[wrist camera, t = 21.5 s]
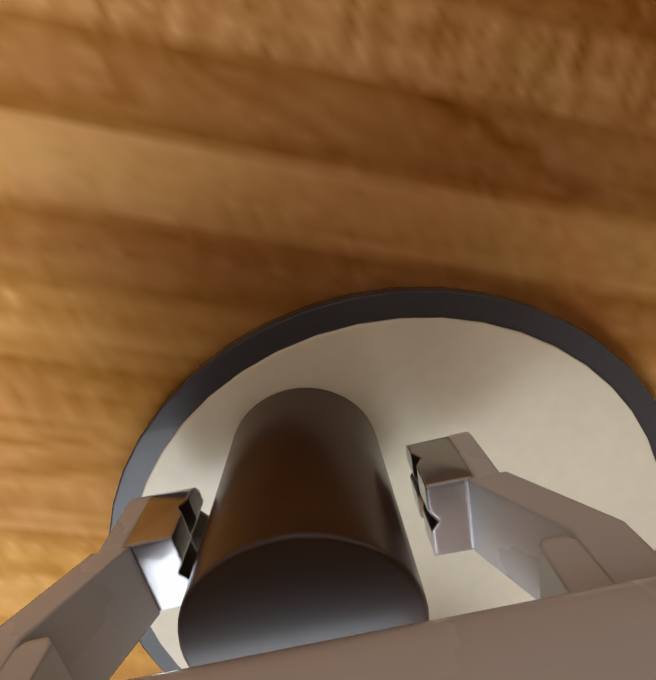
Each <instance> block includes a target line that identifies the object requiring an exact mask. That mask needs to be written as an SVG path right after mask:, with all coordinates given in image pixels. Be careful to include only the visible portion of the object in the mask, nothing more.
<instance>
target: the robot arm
mask: <svg viewBox="0 0 656 680" xmlns="http://www.w3.org/2000/svg"><path fill="white" fill-rule="evenodd" d="M406 454H407V460H408V463H409V466H410V468H411V471H412V473H411V475H410V479H411V485H412V490H413V494H414V499H415V502H416V505H417V508H418V511H419V514H420V517H422V518H424V522H425V528H426V533H427V535H428V538H429V541H430V543H431V546H432V548H433V551H434V554H435V556H437V555H443V554H449V553H455V552H461V551H467V550H473V549H475V552H476V553H478V554H479V555H480V556H482V557H483V558H484V559H485V560H487V561H488V562H489V563H490V564H492V565H493V566H494V567H495V568H497V569H498V570H499V571H501V572H502V573H503V574H504V575H506V576H507V577H508V578H509V579H511V580H512V581H513V582H515V583H516V584H517V585H518V586H520V587H521V588H522V589H523V590H525V591H526V592H527V593H529V594H530V595H531V596H532V597H534V598H535V599H536V600H531V601H526V602H521V603H516V604H511V605H506V606H501V607H496V608H491V609H486V610H481V611H476V612H471V613H465V614H460V615H455V616H450V617H445V618H440V619H435V620H429V621H424V622H419V623H414V624H409V625H404V626H398V627H393V628H388V629H383V630H378V631H373V632H367V633H362V634H357V635H352V636H347V637H342V638H337V639H332V640H326V641H321V642H316V643H311V644H306V645H301V646H296V647H291V648H286V649H281V650H276V651H271V652H266V653H260V654H255V655H250V656H245V657H240V658H235V659H230V660H225V661H220V662H215V663H210V664H205V665H199V666H194V667H189V668H184V669H179V670H174V671H169V672H164V673H159V674H154V675H149V676H143V677H138V678H133V679H128V680H656V552H655V551H654V550H653V549H652V548H651V547H650V546H649V545H648V544H647V543H646V542H645V541H644V540H643V539H642V538H641V537H640V536H639V535H638V534H637V533H636V532H635V531H634V530H633V529H632V528H631V527H630V526H629V525H628V524H627V523H626V522H625V521H622V520H620V519H618V518H615V517H613V516H611V515H608V514H606V513H603V512H601V511H599V510H596V509H594V508H592V507H589V506H587V505H585V504H582V503H580V502H577V501H575V500H573V499H570V498H568V497H566V496H563V495H561V494H559V493H556V492H554V491H551V490H549V489H547V488H544V487H542V486H540V485H537V484H535V483H533V482H530V481H528V480H526V479H523V478H521V477H518V476H516V475H514V474H511V473H509V472H507V471H505V472H499V471H498V469H497V468H496V467H495V465H494V464H493V463H492V461H491V460H490V459H489V457H488V456H487V455H486V453H485V452H484V451H483V449H482V448H481V447H480V445H479V444H478V443H477V441H476V440H475V439H474V437H473V436H472V435H471V433H469V432H467V431H466V432H462V433H458V434H453V435H449V436H447V437H442V438H438V439H433V440H428V441H424V442H419V443H415V444H410V445H406ZM203 502H204V501H203V498H202V496H201V493H200V491H199V490H198V489H197V488H195V487H194V488H188V489H183V490H177V491H172V492H166V493H160V494H155V495H150V496H145V497H140V498H135V499H133V500H131V501H130V502H129V503H128V505H127V507H126V508H125V510H124V512H123V513H122V515H121V517H120V518H119V520H118V521H117V523H116V525H115V526H114V528H113V530H112V531H111V533H110V535H109V536H108V538H107V540H106V541H105V543H104V544H103V546H102V548H101V549H100V551H99V553H95V554H91V555H90V556H89V557H87V558H86V559H85V560H84V561H82V562H81V563H80V564H78V565H77V566H76V567H75V568H73V569H72V570H71V571H70V572H68V573H67V574H66V575H65V576H63V577H62V578H61V579H59V580H58V581H57V582H56V583H54V584H53V585H52V586H51V587H49V588H48V589H47V590H45V591H44V592H43V593H42V594H40V595H39V596H38V597H37V598H35V599H34V600H33V601H31V602H30V603H29V604H28V605H26V606H25V607H24V608H23V609H21V610H20V611H19V612H18V613H16V614H15V615H14V616H12V617H11V618H10V619H9V620H7V621H6V622H5V623H4V624H2V625H1V626H0V680H109V679H110V677H111V676H112V675H113V674H114V672H115V671H116V670H117V668H118V667H119V666H120V665H121V663H122V662H123V661H124V659H125V658H126V657H127V656H128V654H129V653H130V652H131V650H132V649H133V648H134V647H135V645H136V644H137V643H138V642H139V640H140V639H141V638H142V636H143V635H144V634H145V633H146V631H147V630H148V629H149V627H150V626H151V625H152V624H153V622H154V621H155V620H156V618H157V617H158V616H159V615H160V611H164V610H169V609H173V608H177V607H181V603H182V600H183V597H184V594H185V591H186V587H187V584H188V581H189V578H190V575H191V572H192V568H193V565H194V562H195V559H196V556H197V553H198V549H199V546H200V543H201V540H202V537H203V534H204V530H205V527H206V524H207V521H208V518H209V515H207V514H206V513H204V512H203V511H201V507H202V505H203Z"/></svg>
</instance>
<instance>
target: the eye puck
mask: <svg viewBox="0 0 656 680" xmlns="http://www.w3.org/2000/svg"><path fill="white" fill-rule="evenodd" d="M424 621H429V607H428V603H427V599H426V595H425V592H424V588H423V585H422V582H421V579H420V575H419V572H418V569H417V566H416V563H415V559H414V556H413V553H412V550H411V546H410V543H409V540H408V537H407V534H406V530H405V527H404V524H403V521H402V517H401V514H400V511H399V508H398V505H397V501H396V498H395V495H394V492H393V488H392V485H391V482H390V479H389V475H388V472H387V469H386V466H385V463H384V459H383V456H382V453H381V450H380V446H379V443H378V440H377V437H376V434H375V431H374V428H373V426H372V424H371V422H370V421H369V419H368V417H367V416H366V415H365V414H364V412H363V411H362V410H361V409H360V408H359V407H358V406H357V405H355V404H354V403H353V402H351V401H350V400H348V399H347V398H345V397H343V396H341V395H339V394H336V393H334V392H331V391H327V390H323V389H318V388H295V389H289V390H285V391H281V392H278V393H276V394H274V395H271V396H269V397H267V398H265V399H264V400H262V401H261V402H259V403H258V404H256V405H255V406H254V407H253V408H252V409H251V410H250V411H249V412H248V413H247V414H246V415H245V416H244V418H243V419H242V421H241V422H240V424H239V426H238V428H237V430H236V433H235V435H234V438H233V441H232V445H231V448H230V451H229V454H228V457H227V460H226V464H225V467H224V470H223V473H222V476H221V480H220V483H219V486H218V489H217V492H216V495H215V499H214V502H213V505H212V508H211V511H210V514H209V518H208V521H207V524H206V527H205V530H204V534H203V537H202V540H201V543H200V546H199V549H198V553H197V556H196V559H195V562H194V565H193V568H192V572H191V575H190V578H189V581H188V584H187V587H186V591H185V594H184V597H183V600H182V603H181V607H180V611H179V616H178V638H179V644H180V649H181V651H182V654H183V657H184V659H185V661H186V663H187V665H188V666H189V667H194V666H199V665H205V664H210V663H215V662H220V661H225V660H230V659H235V658H240V657H245V656H250V655H255V654H260V653H266V652H271V651H276V650H281V649H286V648H291V647H296V646H301V645H306V644H311V643H316V642H321V641H326V640H332V639H337V638H342V637H347V636H352V635H357V634H362V633H367V632H373V631H378V630H383V629H388V628H393V627H398V626H404V625H409V624H414V623H419V622H424Z"/></svg>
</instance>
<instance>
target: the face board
mask: <svg viewBox="0 0 656 680" xmlns="http://www.w3.org/2000/svg"><path fill="white" fill-rule="evenodd" d="M295 388H318V389H323V390H327V391H331V392H334V393H336V394H339V395H341V396H343V397H345V398H347V399H348V400H350V401H351V402H353V403H354V404H355V405H357V406H358V407H359V408H360V409H361V410H362V411H363V412H364V414H365V415H366V416H367V417H368V419H369V421H370V422H371V424H372V426H373V428H374V431H375V434H376V437H377V440H378V443H379V446H380V450H381V453H382V456H383V459H384V463H385V466H386V469H387V472H388V475H389V479H390V482H391V485H392V488H393V492H394V495H395V498H396V501H397V505H398V508H399V511H400V514H401V517H402V521H403V524H404V527H405V530H406V534H407V537H408V540H409V543H410V546H411V550H412V553H413V556H414V559H415V563H416V566H417V569H418V572H419V575H420V579H421V582H422V585H423V588H424V592H425V595H426V599H427V603H428V607H429V620H435V619H440V618H445V617H450V616H455V615H460V614H465V613H471V612H476V611H481V610H486V609H491V608H496V607H501V606H506V605H511V604H516V603H521V602H526V601H531V600H536V599H535V598H534V597H532V596H531V595H530V594H529V593H527V592H526V591H525V590H523V589H522V588H521V587H520V586H518V585H517V584H516V583H515V582H513V581H512V580H511V579H509V578H508V577H507V576H506V575H504V574H503V573H502V572H501V571H499V570H498V569H497V568H495V567H494V566H493V565H492V564H490V563H489V562H488V561H487V560H485V559H484V558H483V557H482V556H480V555H479V554H478V553H476V552H475V549H473V550H467V551H461V552H455V553H449V554H443V555H437V556H435V554H434V551H433V548H432V546H431V543H430V541H429V538H428V535H427V533H426V528H425V522H424V518H422V517H420V514H419V511H418V508H417V505H416V502H415V499H414V494H413V490H412V485H411V479H410V475H411V473H412V471H411V468H410V466H409V463H408V460H407V454H406V445H410V444H415V443H419V442H424V441H428V440H433V439H438V438H442V437H447V436H449V435H453V434H458V433H462V432H466V431H467V432H469V433H471V435H472V436H473V437H474V439H475V440H476V441H477V443H478V444H479V445H480V447H481V448H482V449H483V451H484V452H485V453H486V455H487V456H488V457H489V459H490V460H491V461H492V463H493V464H494V465H495V467H496V468H497V469H498V471H499V472H505V471H507V472H509V473H511V474H514V475H516V476H518V477H521V478H523V479H526V480H528V481H530V482H533V483H535V484H537V485H540V486H542V487H544V488H547V489H549V490H551V491H554V492H556V493H559V494H561V495H563V496H566V497H568V498H570V499H573V500H575V501H577V502H580V503H582V504H585V505H587V506H589V507H592V508H594V509H596V510H599V511H601V512H603V513H606V514H608V515H611V516H613V517H615V518H618V519H620V520H622V521H625V522H626V523H627V524H628V525H629V526H630V527H631V528H632V529H633V530H634V531H635V532H636V533H637V534H638V535H639V536H640V537H641V538H642V539H643V540H644V541H645V542H646V543H647V544H648V545H649V546H650V547H651V548H652V549H653V550H654V551H655V552H656V402H655V401H654V399H653V397H652V395H651V394H650V392H649V391H648V390H647V389H646V387H645V386H644V385H643V384H642V382H641V381H640V380H639V379H638V377H637V376H636V375H635V374H634V372H633V371H632V370H631V369H630V367H628V366H627V365H626V364H625V363H624V362H623V361H622V360H621V359H619V358H618V357H617V356H616V355H615V354H614V353H613V352H612V351H611V350H609V349H608V348H607V347H606V346H605V345H604V344H603V343H601V342H599V341H598V340H596V339H595V338H593V337H592V336H590V335H588V334H587V333H585V332H584V331H582V330H581V329H579V328H577V327H576V326H574V325H573V324H571V323H569V322H567V321H565V320H562V319H560V318H558V317H555V316H553V315H551V314H548V313H546V312H544V311H541V310H539V309H537V308H535V307H532V306H530V305H528V304H525V303H522V302H518V301H514V300H511V299H507V298H503V297H500V296H496V295H492V294H488V293H485V292H477V291H469V290H461V289H453V288H445V287H395V288H388V289H381V290H374V291H367V292H360V293H353V294H348V295H344V296H341V297H337V298H333V299H330V300H326V301H322V302H319V303H315V304H312V305H308V306H305V307H303V308H300V309H298V310H296V311H293V312H291V313H288V314H286V315H284V316H281V317H279V318H276V319H274V320H272V321H269V322H267V323H265V324H263V325H261V326H260V327H258V328H256V329H254V330H253V331H251V332H249V333H247V334H246V335H244V336H242V337H241V338H239V339H237V340H235V341H234V342H232V343H230V344H229V345H227V346H226V347H224V348H223V349H222V350H221V351H219V352H218V353H217V354H215V355H214V356H213V357H212V358H210V359H209V360H208V361H206V362H205V363H204V364H203V365H201V366H200V367H199V368H198V369H196V370H195V371H194V372H193V373H192V374H191V375H190V376H189V377H188V378H187V379H186V380H185V381H184V382H183V383H182V384H181V385H180V386H179V387H178V388H177V389H176V391H175V392H174V393H173V394H172V395H171V396H170V397H169V398H168V399H167V400H166V401H165V403H164V404H163V405H162V407H161V408H160V410H159V411H158V412H157V414H156V415H155V417H154V418H153V419H152V421H151V422H150V424H149V425H148V426H147V428H146V429H145V431H144V432H143V433H142V435H141V436H140V438H139V440H138V442H137V444H136V446H135V448H134V450H133V452H132V454H131V456H130V458H129V460H128V462H127V464H126V466H125V468H124V470H123V473H122V476H121V479H120V483H119V486H118V489H117V492H116V496H115V499H114V502H113V509H112V517H111V524H110V532H109V535H110V533H111V531H112V530H113V528H114V526H115V525H116V523H117V521H118V520H119V518H120V517H121V515H122V513H123V512H124V510H125V508H126V507H127V505H128V503H129V502H130V501H131V500H133V499H135V498H140V497H145V496H150V495H155V494H160V493H166V492H172V491H177V490H183V489H188V488H194V487H195V488H197V489H198V490H199V491H200V493H201V496H202V498H203V501H204V502H203V505H202V507H201V511H203V512H204V513H206V514H207V515H209V514H210V511H211V508H212V505H213V502H214V499H215V495H216V492H217V489H218V486H219V483H220V480H221V476H222V473H223V470H224V467H225V464H226V460H227V457H228V454H229V451H230V448H231V445H232V441H233V438H234V435H235V433H236V430H237V428H238V426H239V424H240V422H241V421H242V419H243V418H244V416H245V415H246V414H247V413H248V412H249V411H250V410H251V409H252V408H253V407H254V406H255V405H256V404H258V403H259V402H261V401H262V400H264V399H265V398H267V397H269V396H271V395H274V394H276V393H278V392H281V391H285V390H289V389H295ZM179 611H180V607H177V608H173V609H169V610H164V611H160V615H159V616H158V617H157V618H156V620H155V621H154V622H153V624H152V625H151V626H150V627H149V629H148V630H147V631H146V633H145V634H144V635H143V636H142V638H141V639H140V640H139V642H140V643H141V645H142V647H143V648H144V649H145V650H146V652H147V653H148V654H149V655H150V656H151V658H152V659H153V660H154V661H155V662H156V664H157V665H158V666H159V667H160V668H161V669H162V670H163V671H164V672H169V671H174V670H179V669H184V668H189V666H188V665H187V663H186V661H185V659H184V657H183V654H182V651H181V649H180V644H179V638H178V616H179Z"/></svg>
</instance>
